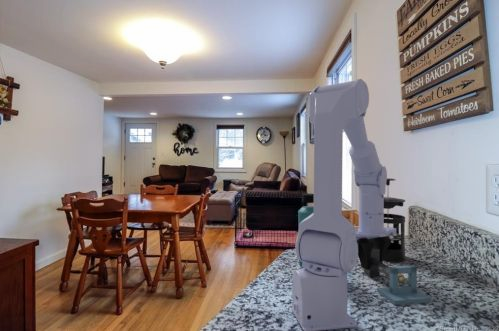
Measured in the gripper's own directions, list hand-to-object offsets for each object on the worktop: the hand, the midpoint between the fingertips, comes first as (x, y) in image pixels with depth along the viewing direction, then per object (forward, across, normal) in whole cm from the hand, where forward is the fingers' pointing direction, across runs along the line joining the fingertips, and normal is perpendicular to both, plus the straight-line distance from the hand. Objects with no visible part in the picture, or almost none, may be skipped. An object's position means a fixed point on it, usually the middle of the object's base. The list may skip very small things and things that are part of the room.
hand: (371, 267), depth 74 cm
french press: (+2, +14, +9) cm, 17 cm away
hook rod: (+2, -1, -5) cm, 6 cm away
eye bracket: (+2, -3, -12) cm, 12 cm away
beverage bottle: (+2, -13, +7) cm, 15 cm away
